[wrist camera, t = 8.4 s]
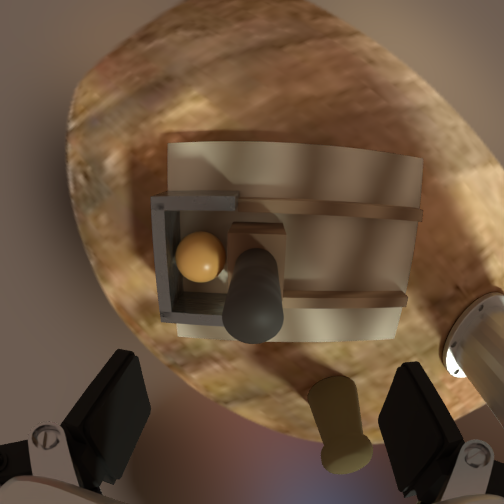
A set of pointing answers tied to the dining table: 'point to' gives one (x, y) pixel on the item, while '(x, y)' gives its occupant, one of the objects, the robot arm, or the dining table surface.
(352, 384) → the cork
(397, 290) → the lane board
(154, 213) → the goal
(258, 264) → the player block
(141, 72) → the dining table surface
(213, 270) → the ball
